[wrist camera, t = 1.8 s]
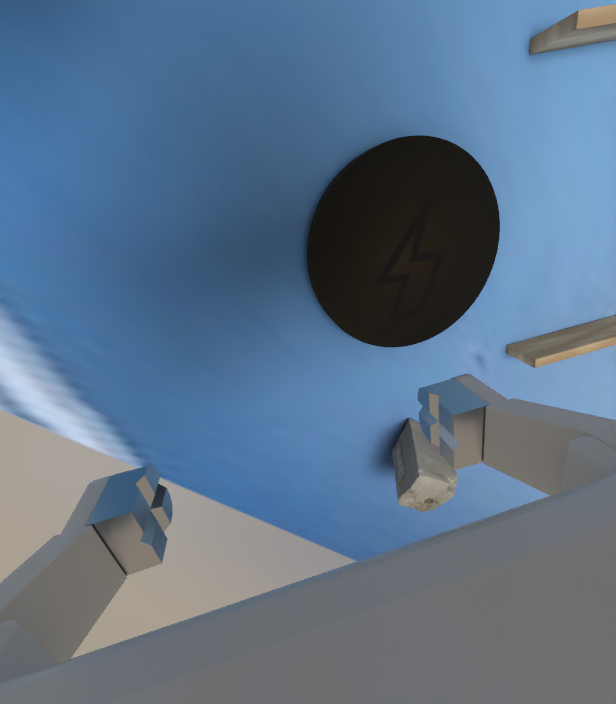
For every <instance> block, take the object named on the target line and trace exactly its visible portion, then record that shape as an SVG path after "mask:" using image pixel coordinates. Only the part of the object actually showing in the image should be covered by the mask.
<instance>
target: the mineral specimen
mask: <svg viewBox="0 0 616 704" xmlns="http://www.w3.org/2000/svg"><path fill="white" fill-rule="evenodd" d="M392 456H393V464H394V470H395V481H396V490H397V498H398V503H399V504H400V505H402V506H407V507H409V508H410V509H411V508H415V509H416V510H419V511H432V510H434V509H435V508H436V507H439V506H440V505H442V504H443V503H445V502H446V501H448V500H449V499H451V498H452V497H453V496H454V494H455V487H456V485H457V474H456V471H455V470H454V469H453V468H452V467H451V466H450V465H449V464H448V462H447V461H446V460H445V459H444V458H443V457H442V456H441V454H440V447H439V446H436V445H434V444H431V443H430V442H429V440H428V439H427V438H426V436H425V435H424V433H423V431H422V428H421V425H420V423H418V422H417V421H415V420H413V419H408V422H407V424H406V426H405V427H404V429H403V431H402V432H401V434H400V437H399V438H398V440H397V443H396V444H395V446H394V447H393V449H392Z"/></svg>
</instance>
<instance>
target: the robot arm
mask: <svg viewBox="0 0 616 704" xmlns="http://www.w3.org/2000/svg"><path fill="white" fill-rule="evenodd" d="M418 401H419V402H420V403H421V404H422V405H423V407H422V409H421V410H420V412H419V420H420V425H421V428H422V431H423V433H424V435H425V436H426V438H427V439H428V440H429V442H430V443H431V444H434V445H436V446H439V447H440V454H441V456H442V457H443V458H444V459H445V460H446V461H447V462H448V464H449V465H450V466H451V467H452V468H453V469H454V470H456V469H460V468H463V467H467V466H470V465H474V464H477V463H481V462H483V463H484V464H486V465H488V466H490V467H492V468H494V469H496V470H498V471H501V472H503V473H505V474H507V475H509V476H511V477H513V478H515V479H517V480H519V481H521V482H523V483H526V484H528V485H530V486H532V487H534V488H536V489H538V490H540V491H542V492H544V493H546V494H548V495H551V496H549V497H546V498H543V499H540V500H537V501H534V502H531V503H528V504H525V505H522V506H519V507H516V508H513V509H510V510H508V511H505V512H502V513H499V514H496V515H493V516H490V517H487V518H484V519H481V520H478V521H475V522H472V523H469V524H466V525H463V526H460V527H457V528H455V529H452V530H449V531H446V532H443V533H440V534H437V535H434V536H431V537H428V538H425V539H422V540H419V541H416V542H413V543H410V544H407V545H404V546H402V547H399V548H396V549H393V550H390V551H387V552H384V553H381V554H378V555H375V556H372V557H369V558H366V559H363V560H360V561H357V562H354V563H352V564H349V565H346V566H343V567H340V568H337V569H334V570H331V571H328V572H325V573H322V574H319V575H316V576H313V577H311V578H307V579H304V580H302V581H299V582H296V583H293V584H290V585H287V586H284V587H281V588H278V589H275V590H272V591H269V592H266V593H263V594H261V595H258V596H255V597H251V598H248V599H246V600H243V601H240V602H237V603H234V604H231V605H228V606H225V607H222V608H219V609H216V610H213V611H210V612H208V613H204V614H201V615H198V616H196V617H193V618H190V619H187V620H184V621H181V622H178V623H175V624H172V625H169V626H167V627H163V628H160V629H158V630H154V631H151V632H148V633H146V634H143V635H140V636H137V637H134V638H131V639H128V640H125V641H122V642H119V643H116V644H113V645H110V646H107V647H105V648H101V649H98V650H96V651H93V652H90V653H87V654H84V655H81V656H78V657H75V658H72V659H71V657H72V656H73V654H74V653H75V652H76V650H77V649H78V647H79V646H80V644H81V643H82V641H83V640H84V639H85V637H86V636H87V634H88V633H89V631H90V630H91V629H92V627H93V626H94V624H95V623H96V621H97V620H98V618H99V617H100V616H101V614H102V613H103V611H104V610H105V608H106V607H107V606H108V604H109V603H110V601H111V600H112V598H113V597H114V595H115V594H116V593H117V591H118V590H119V588H120V587H121V585H122V584H123V583H124V581H125V580H126V578H127V577H126V576H127V575H130V574H133V573H135V572H138V571H141V570H144V569H147V568H150V567H153V566H155V565H159V564H161V563H162V560H163V556H164V551H165V547H166V542H167V538H166V536H165V534H164V531H165V530H166V529H167V527H168V526H169V525H170V523H171V518H172V501H171V498H170V494H169V492H168V490H167V488H166V487H164V486H162V485H160V484H158V482H159V478H160V475H159V473H158V471H157V469H156V467H154V466H152V465H149V466H145V467H141V468H138V469H134V470H131V471H126V472H123V473H119V474H115V475H113V476H108V477H104V478H101V479H98V480H94V481H93V482H91V483H89V485H88V486H87V488H86V490H85V492H84V494H83V495H82V497H81V499H80V501H79V503H78V504H77V506H76V508H75V510H74V512H73V513H72V515H71V517H70V519H69V520H68V522H67V524H66V526H65V528H64V529H63V531H62V533H61V534H60V535H56V536H54V537H53V538H51V539H50V540H49V541H48V542H47V543H46V544H44V545H43V546H42V547H41V548H40V549H39V550H38V551H36V552H35V553H34V554H33V555H32V556H31V557H30V558H28V559H27V560H26V561H25V562H24V563H23V564H22V565H20V566H19V567H18V568H17V569H16V570H15V571H14V572H12V573H11V574H10V575H9V576H8V577H7V578H6V579H4V580H3V581H2V582H1V583H0V704H616V420H612V419H607V418H603V417H598V416H593V415H589V414H584V413H579V412H575V411H570V410H565V409H561V408H556V407H551V406H547V405H542V404H538V403H533V402H528V401H524V400H519V399H514V398H513V399H510V400H508V399H506V398H505V397H503V396H502V395H500V394H499V393H497V392H496V391H494V390H493V389H491V388H490V387H488V386H487V385H485V384H484V383H482V382H481V381H479V380H478V379H476V378H475V377H473V376H472V375H470V374H464V375H461V376H457V377H454V378H451V379H450V380H446V381H443V382H440V383H436V384H433V385H429V386H426V387H423V388H419V390H418Z"/></svg>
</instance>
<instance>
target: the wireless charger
mask: <svg viewBox="0 0 616 704" xmlns="http://www.w3.org/2000/svg"><path fill="white" fill-rule="evenodd" d="M499 232H500V220H499V210H498V204H497V200H496V196H495V193H494V190H493V187H492V185H491V182H490V180H489V178H488V176H487V175H486V173H485V172H484V170H483V169H482V167H481V166H480V165H479V163H478V162H477V161H476V160H475V159H474V158H473V157H472V156H471V155H470V154H469V153H468V152H466V151H465V150H464V149H462V148H461V147H459V146H457V145H456V144H453V143H451V142H449V141H447V140H444V139H441V138H436V137H431V136H407V137H401V138H397V139H393V140H390V141H388V142H385V143H383V144H381V145H378V146H376V147H374V148H372V149H370V150H368V151H366V152H365V153H363V154H361V155H360V156H358V157H357V158H355V159H354V160H353V161H351V162H350V163H349V164H348V165H347V166H346V167H345V168H344V169H343V170H342V171H341V172H340V173H339V174H338V175H337V176H336V177H335V178H334V179H333V181H332V182H331V184H330V185H329V186H328V188H327V189H326V191H325V193H324V194H323V196H322V198H321V200H320V202H319V204H318V206H317V208H316V211H315V213H314V216H313V219H312V223H311V226H310V231H309V236H308V245H307V263H308V271H309V277H310V281H311V284H312V287H313V290H314V293H315V295H316V297H317V299H318V301H319V303H320V304H321V306H322V308H323V309H324V310H325V312H326V313H327V314H328V315H329V317H330V318H331V319H332V320H333V321H334V322H335V323H336V324H337V325H338V326H339V327H340V328H341V329H342V330H343V331H345V332H346V333H347V334H349V335H350V336H352V337H354V338H356V339H358V340H360V341H362V342H365V343H368V344H371V345H375V346H381V347H403V346H408V345H413V344H417V343H420V342H423V341H425V340H428V339H430V338H432V337H434V336H436V335H438V334H439V333H441V332H443V331H444V330H446V329H447V328H448V327H450V326H451V325H452V324H454V323H455V322H456V321H457V320H458V319H459V318H460V317H461V316H462V315H463V314H464V313H465V312H466V311H467V310H468V309H469V308H470V306H471V305H472V304H473V303H474V301H475V300H476V298H477V297H478V296H479V294H480V292H481V291H482V289H483V287H484V285H485V284H486V281H487V279H488V277H489V275H490V272H491V270H492V267H493V264H494V261H495V257H496V253H497V249H498V242H499Z"/></svg>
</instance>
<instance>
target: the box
mask: <svg viewBox="0 0 616 704" xmlns="http://www.w3.org/2000/svg"><path fill="white" fill-rule="evenodd" d="M611 40H616V4H614V5H608V6H602V7H596V8H589V9H583V10H578V11H577V12H575V13H573V14H571V15H570V16H568V17H566V18H565V19H563V20H561V21H560V22H558V23H556V24H555V25H553V26H551V27H550V28H548V29H546V30H544V31H543V32H541V33H539V34H538V35H536V36H534V37H533V38H531V42H530V55H531V54H536V53H542V52H548V51H554V50H559V49H565V48H571V47H577V46H582V45H588V44H594V43H600V42H606V41H611ZM613 345H616V315H614V316H611V317H607V318H603V319H600V320H596V321H593V322H589V323H585V324H582V325H578V326H575V327H571V328H567V329H564V330H560V331H557V332H553V333H549V334H546V335H542V336H538V337H535V338H531V339H528V340H524V341H520V342H517V343H513V344H510V345H507V348H506V353H507V354H509V355H511V356H513V357H515V358H517V359H518V360H520V361H522V362H524V363H526V364H528V365H530V366H532V367H534V368H536V367H540V366H543V365H547V364H550V363H554V362H557V361H561V360H564V359H568V358H571V357H575V356H578V355H582V354H585V353H589V352H592V351H596V350H599V349H603V348H606V347H609V346H613Z"/></svg>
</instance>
